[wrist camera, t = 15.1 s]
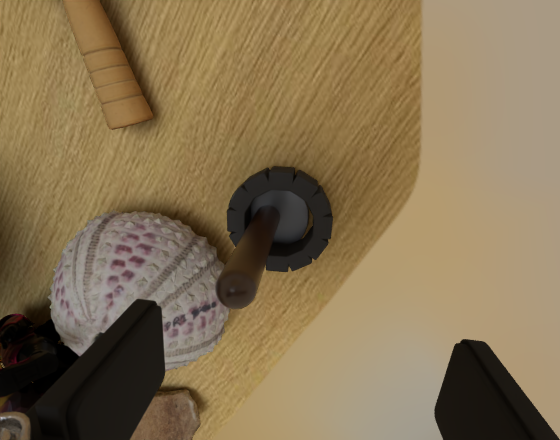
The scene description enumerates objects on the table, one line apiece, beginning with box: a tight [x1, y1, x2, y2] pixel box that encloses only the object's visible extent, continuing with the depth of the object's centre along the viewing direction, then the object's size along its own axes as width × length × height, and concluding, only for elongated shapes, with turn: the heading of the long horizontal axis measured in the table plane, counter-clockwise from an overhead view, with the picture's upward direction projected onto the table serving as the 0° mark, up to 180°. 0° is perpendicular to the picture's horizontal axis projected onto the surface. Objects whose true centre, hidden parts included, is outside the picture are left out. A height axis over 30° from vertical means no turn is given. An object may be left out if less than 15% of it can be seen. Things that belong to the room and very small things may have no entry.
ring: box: [227, 166, 333, 272], centre depth 22 cm, size 7×7×2 cm
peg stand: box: [215, 185, 309, 309], centre depth 18 cm, size 6×6×12 cm
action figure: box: [0, 314, 80, 398], centre depth 24 cm, size 15×6×20 cm
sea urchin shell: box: [48, 210, 230, 371], centre depth 23 cm, size 13×14×8 cm
